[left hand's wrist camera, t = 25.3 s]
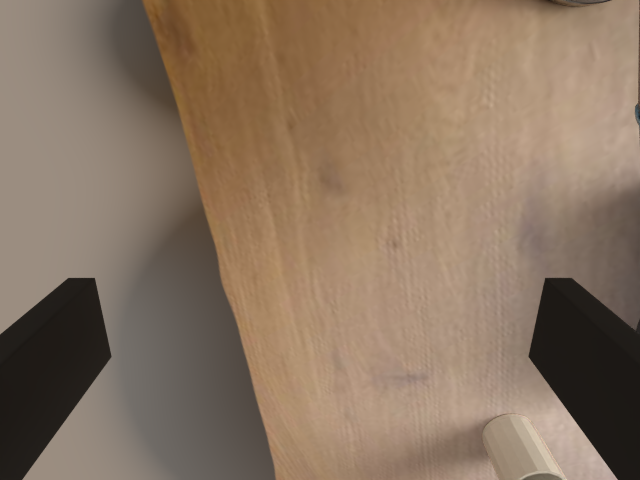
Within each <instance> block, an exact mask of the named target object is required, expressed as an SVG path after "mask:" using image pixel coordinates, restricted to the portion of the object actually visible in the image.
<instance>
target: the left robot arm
mask: <svg viewBox="0 0 640 480" xmlns="http://www.w3.org/2000/svg"><path fill="white" fill-rule="evenodd" d="M549 1H552V2H554V3H557V4H561V5H566V6H588V5H594V4H598V3H602V2H606V1H610V0H549ZM635 117H636V120H637V123H638V125H639V138H640V0H639V81H638V104H637V105H636V107H635ZM110 358H111V352H110V347H109V343H108V338H107V333H106V329H105V324H104V319H103V315H102V310H101V305H100V300H99V296H98V291H97V286H96V282H95V278H68V279H67V280H66V281H64V282H63V283H62V284H61V285H60V286H58V287H57V288H56V289H55V290H54V291H52V292H51V293H50V294H49V295H47V296H46V297H45V298H44V299H43V300H41V301H40V302H39V303H38V304H37V305H35V306H34V307H33V308H32V309H30V310H29V311H28V312H27V313H26V314H24V315H23V316H22V317H21V318H20V319H18V320H17V321H16V322H15V323H14V324H12V325H11V326H10V327H9V328H8V329H6V330H5V331H4V332H3V333H2V334H0V480H22V479H23V478H24V476H25V475H26V474H27V472H28V471H29V470H30V468H31V467H32V465H33V464H34V463H35V461H36V460H37V458H38V457H39V456H40V454H41V453H42V452H43V450H44V449H45V448H46V446H47V445H48V443H49V442H50V441H51V439H52V438H53V437H54V435H55V434H56V432H57V431H58V430H59V428H60V427H61V425H62V424H63V423H64V421H65V420H66V419H67V417H68V416H69V414H70V413H71V412H72V410H73V409H74V408H75V406H76V405H77V403H78V402H79V401H80V399H81V398H82V396H83V395H84V394H85V392H86V391H87V390H88V388H89V387H90V386H91V384H92V383H93V381H94V380H95V379H96V377H97V376H98V375H99V373H100V372H101V370H102V369H103V368H104V366H105V365H106V364H107V362H108V361H109V359H110ZM529 358H530V359H531V361H532V362H533V364H534V365H535V366H536V368H537V369H538V370H539V372H540V373H541V375H542V376H543V377H544V379H545V380H546V381H547V383H548V384H549V386H550V387H551V388H552V390H553V391H554V392H555V394H556V395H557V397H558V398H559V399H560V401H561V402H562V403H563V405H564V406H565V408H566V409H567V410H568V412H569V413H570V415H571V416H572V417H573V419H574V420H575V421H576V423H577V424H578V426H579V427H580V428H581V430H582V431H583V432H584V434H585V435H586V437H587V438H588V439H589V441H590V442H591V443H592V445H593V446H594V448H595V449H596V450H597V452H598V453H599V454H600V456H601V457H602V459H603V460H604V461H605V463H606V464H607V465H608V467H609V468H610V470H611V471H612V472H613V474H614V475H615V476H616V478H617V479H618V480H640V334H638V333H637V332H636V331H635V330H634V329H632V328H631V327H630V326H629V325H628V324H626V323H625V322H624V321H623V320H622V319H620V318H619V317H618V316H617V315H616V314H614V313H613V312H612V311H611V310H610V309H608V308H607V307H606V306H605V305H603V304H602V303H601V302H600V301H599V300H597V299H596V298H595V297H594V296H593V295H591V294H590V293H589V292H588V291H587V290H585V289H584V288H583V287H582V286H581V285H579V284H578V283H577V282H576V281H574V280H573V279H572V278H545V282H544V286H543V291H542V296H541V300H540V305H539V310H538V315H537V319H536V324H535V329H534V333H533V338H532V343H531V347H530V352H529Z"/></svg>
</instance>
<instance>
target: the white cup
mask: <svg viewBox="0 0 640 480" xmlns="http://www.w3.org/2000/svg"><path fill="white" fill-rule="evenodd" d="M482 441H483V444H484V446H485V449H486V451H487V453H488V456H489V458H490V460H491V463H492V465H493V467H494V469H495V472H496V474H497V476H498V479H499V480H567V479H566V477H565V475H564V474H563V472H562V470H561V469H560V467H559V466H558V464H557V462H556V461H555V459H554V457H553V456H552V454H551V452H550V451H549V449H548V447H547V446H546V444H545V442H544V441H543V439H542V437H541V436H540V434H539V432H538V431H537V429H536V427H535V426H534V425H533V423H532V422H531V421H530V420H529V419H528V418H526V417H525V416H522V415H519V414H505V415H501V416H499V417H497V418H495V419H493V420H492V421H490V422H489V423H488V424H487V425H486V426H485V428H484V430H483V433H482Z"/></svg>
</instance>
